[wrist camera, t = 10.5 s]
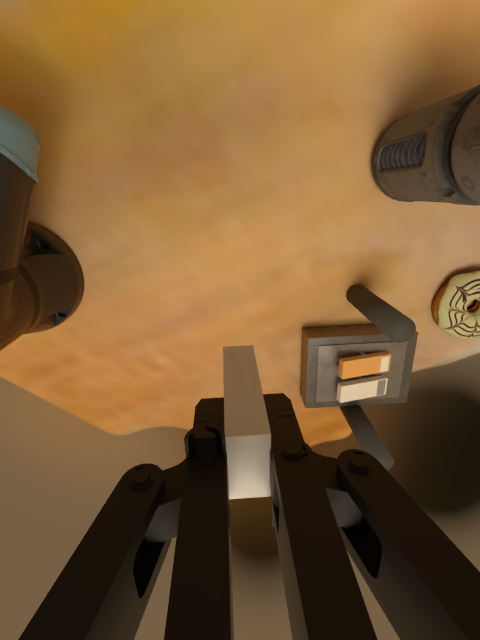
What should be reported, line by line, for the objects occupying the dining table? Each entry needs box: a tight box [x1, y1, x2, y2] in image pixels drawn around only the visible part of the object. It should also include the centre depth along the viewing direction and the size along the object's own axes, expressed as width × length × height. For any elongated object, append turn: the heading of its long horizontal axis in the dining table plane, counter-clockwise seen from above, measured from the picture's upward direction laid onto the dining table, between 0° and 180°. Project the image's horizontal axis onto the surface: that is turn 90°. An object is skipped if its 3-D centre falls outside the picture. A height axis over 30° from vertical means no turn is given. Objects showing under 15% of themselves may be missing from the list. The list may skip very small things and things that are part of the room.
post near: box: [346, 285, 416, 343], centre depth 43 cm, size 3×3×14 cm
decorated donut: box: [432, 271, 480, 339], centre depth 49 cm, size 10×11×4 cm
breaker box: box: [300, 324, 418, 408], centre depth 52 cm, size 16×12×5 cm
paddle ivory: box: [337, 375, 388, 403], centre depth 49 cm, size 8×3×1 cm, turn 92°
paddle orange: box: [338, 351, 391, 379], centre depth 48 cm, size 8×3×1 cm, turn 92°
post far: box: [339, 405, 394, 471], centre depth 50 cm, size 3×3×14 cm
